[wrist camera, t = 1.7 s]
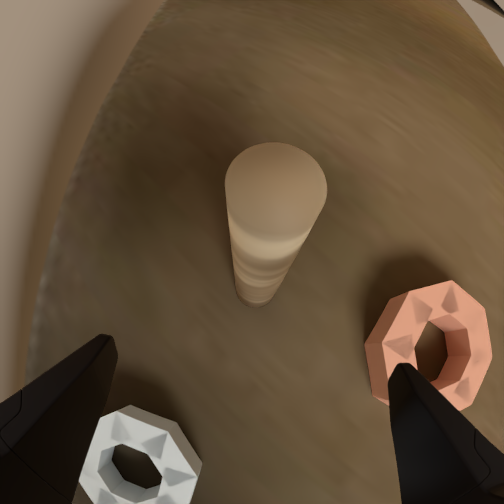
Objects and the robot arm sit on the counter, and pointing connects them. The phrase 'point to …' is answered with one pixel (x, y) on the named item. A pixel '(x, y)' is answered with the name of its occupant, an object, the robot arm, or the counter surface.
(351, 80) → the counter surface
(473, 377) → the bead ring
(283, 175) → the dowel
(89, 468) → the bead
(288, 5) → the counter surface
